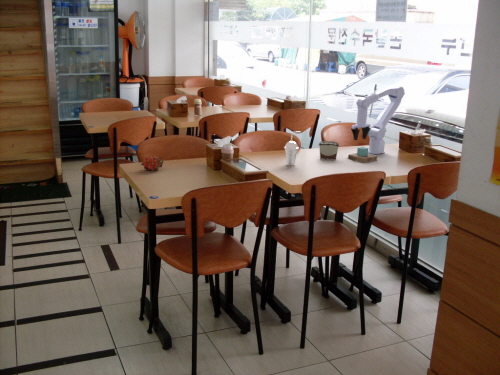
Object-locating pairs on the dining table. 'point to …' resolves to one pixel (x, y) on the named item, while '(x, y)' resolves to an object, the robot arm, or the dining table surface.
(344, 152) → the dining table surface
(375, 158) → the walnut block
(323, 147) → the food container
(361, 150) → the teal cube
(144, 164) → the dragon fruit
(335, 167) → the dining table surface
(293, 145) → the cup with straw
